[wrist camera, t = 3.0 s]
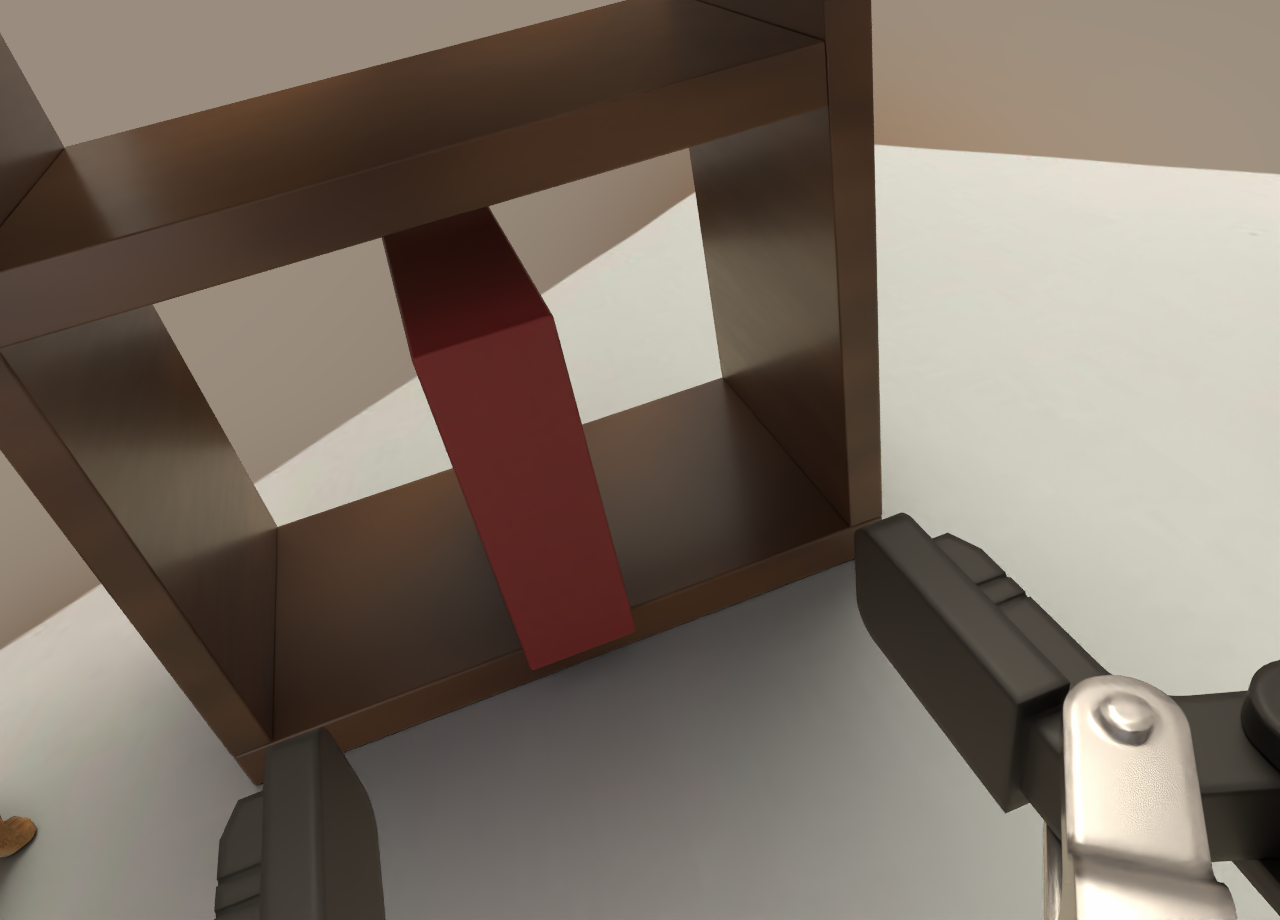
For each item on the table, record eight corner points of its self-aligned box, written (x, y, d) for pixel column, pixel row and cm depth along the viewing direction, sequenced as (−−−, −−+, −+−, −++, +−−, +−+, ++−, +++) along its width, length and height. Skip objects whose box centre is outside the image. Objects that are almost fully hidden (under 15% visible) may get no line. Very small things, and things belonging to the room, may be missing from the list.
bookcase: (751, 397, 39) (609, -743, 20) (883, 549, 30) (847, -1204, 12) (263, 563, 36) (-435, -612, 17) (254, 787, 27) (-1187, -1111, 8)
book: (565, 473, 34) (485, 200, 28) (637, 632, 27) (553, 314, 21) (480, 502, 34) (379, 231, 27) (531, 672, 27) (411, 359, 20)
